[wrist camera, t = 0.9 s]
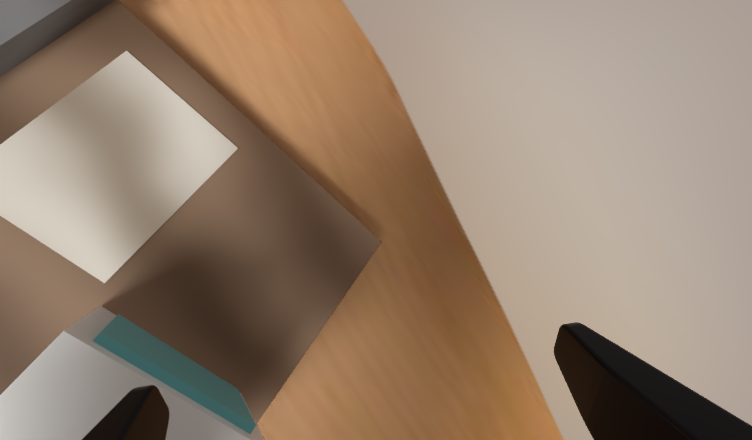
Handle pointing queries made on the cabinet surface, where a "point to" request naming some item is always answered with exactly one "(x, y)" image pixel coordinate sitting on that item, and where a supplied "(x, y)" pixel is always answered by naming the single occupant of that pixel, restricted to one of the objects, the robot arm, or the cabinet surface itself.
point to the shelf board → (154, 204)
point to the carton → (118, 386)
